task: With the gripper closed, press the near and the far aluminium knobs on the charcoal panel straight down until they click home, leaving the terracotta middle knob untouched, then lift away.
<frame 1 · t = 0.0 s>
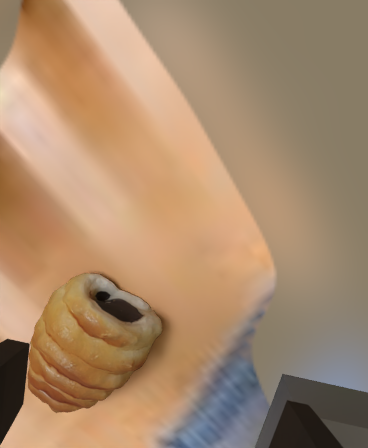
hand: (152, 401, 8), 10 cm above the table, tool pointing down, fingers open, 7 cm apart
pastry: (99, 329, 20), on the table
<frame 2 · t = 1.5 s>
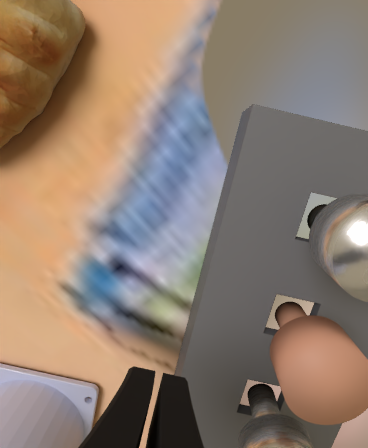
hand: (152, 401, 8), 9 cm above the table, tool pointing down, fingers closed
pastry: (12, 60, 15), on the table
middle knob: (305, 344, 13), point 5 cm above the table, slide at 0.0 cm
knob panel: (275, 290, 17), on the table
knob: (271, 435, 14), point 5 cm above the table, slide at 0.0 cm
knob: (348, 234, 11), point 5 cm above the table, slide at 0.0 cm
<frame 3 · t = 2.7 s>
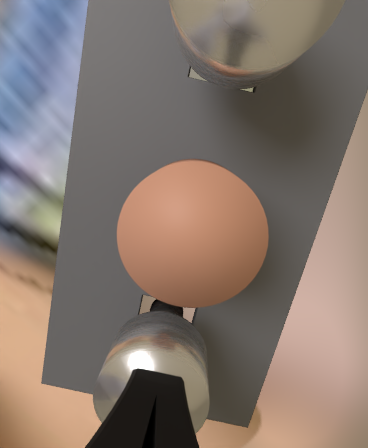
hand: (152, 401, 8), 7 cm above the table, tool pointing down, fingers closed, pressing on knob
middle knob: (192, 215, 9), point 5 cm above the table, slide at 0.0 cm
knob panel: (193, 190, 13), on the table
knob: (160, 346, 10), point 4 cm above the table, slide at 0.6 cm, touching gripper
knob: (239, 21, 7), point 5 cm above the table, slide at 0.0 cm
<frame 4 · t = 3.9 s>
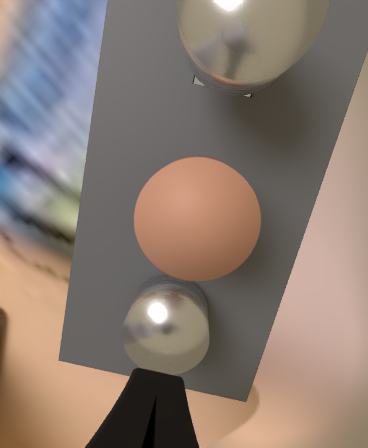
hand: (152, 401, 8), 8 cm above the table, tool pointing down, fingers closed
middle knob: (197, 205, 10), point 5 cm above the table, slide at 0.0 cm
knob panel: (197, 185, 15), on the table
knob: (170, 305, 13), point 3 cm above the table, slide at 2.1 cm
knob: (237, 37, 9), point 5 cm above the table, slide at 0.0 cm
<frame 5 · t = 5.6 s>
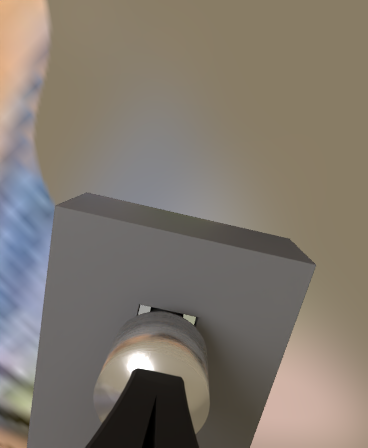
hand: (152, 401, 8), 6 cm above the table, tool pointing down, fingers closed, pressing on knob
knob panel: (149, 383, 15), on the table
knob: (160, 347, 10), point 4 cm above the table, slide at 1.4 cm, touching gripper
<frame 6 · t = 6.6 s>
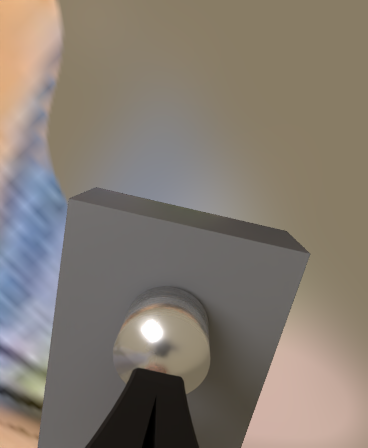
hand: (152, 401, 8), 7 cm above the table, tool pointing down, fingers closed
knob panel: (153, 368, 16), on the table
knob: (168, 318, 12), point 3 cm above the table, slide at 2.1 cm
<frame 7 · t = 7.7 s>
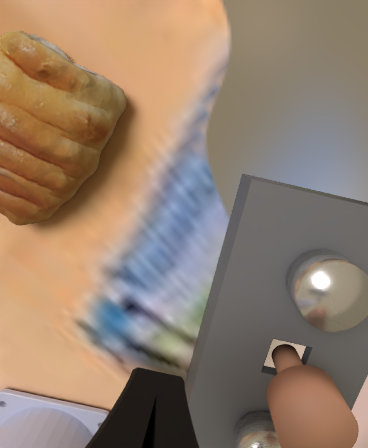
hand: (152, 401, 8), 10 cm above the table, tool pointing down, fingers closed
pastry: (59, 132, 17), on the table
middle knob: (298, 388, 14), point 5 cm above the table, slide at 0.0 cm
knob panel: (272, 327, 19), on the table
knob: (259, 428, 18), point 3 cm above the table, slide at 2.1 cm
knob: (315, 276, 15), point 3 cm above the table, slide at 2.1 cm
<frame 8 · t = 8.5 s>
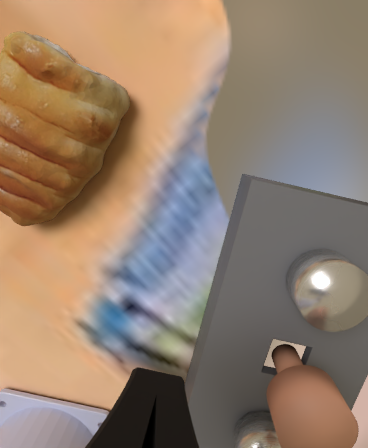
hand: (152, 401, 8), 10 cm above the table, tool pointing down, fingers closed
pastry: (63, 132, 17), on the table
middle knob: (298, 388, 14), point 5 cm above the table, slide at 0.0 cm
knob panel: (272, 327, 19), on the table
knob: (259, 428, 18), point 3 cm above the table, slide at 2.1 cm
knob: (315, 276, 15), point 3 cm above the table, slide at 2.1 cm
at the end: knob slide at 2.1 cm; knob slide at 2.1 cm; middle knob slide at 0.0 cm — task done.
